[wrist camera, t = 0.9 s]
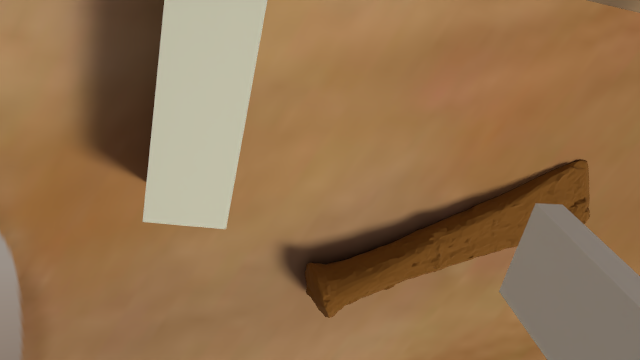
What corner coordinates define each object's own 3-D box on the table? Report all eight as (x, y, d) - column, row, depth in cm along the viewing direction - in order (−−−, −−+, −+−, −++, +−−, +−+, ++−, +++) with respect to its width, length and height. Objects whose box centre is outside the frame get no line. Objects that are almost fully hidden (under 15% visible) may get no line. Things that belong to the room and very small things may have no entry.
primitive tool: (583, 153, 34) (619, 181, 32) (585, 220, 37) (619, 251, 34) (294, 254, 34) (303, 292, 31) (319, 314, 37) (329, 353, 34)
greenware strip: (223, 189, 31) (225, 229, 28) (149, 181, 30) (142, 221, 26) (277, -128, 24) (290, -127, 20) (183, -153, 23) (179, -156, 19)
